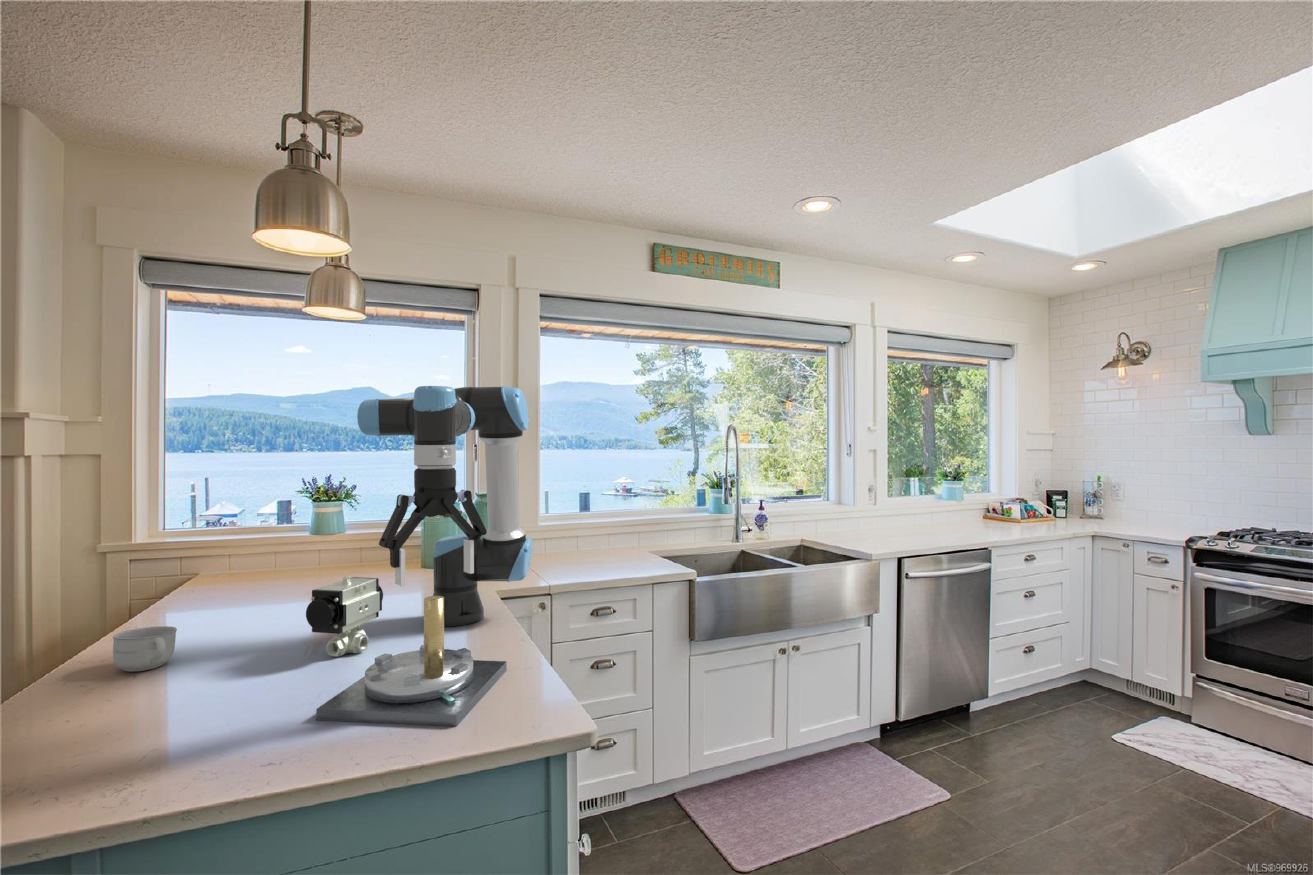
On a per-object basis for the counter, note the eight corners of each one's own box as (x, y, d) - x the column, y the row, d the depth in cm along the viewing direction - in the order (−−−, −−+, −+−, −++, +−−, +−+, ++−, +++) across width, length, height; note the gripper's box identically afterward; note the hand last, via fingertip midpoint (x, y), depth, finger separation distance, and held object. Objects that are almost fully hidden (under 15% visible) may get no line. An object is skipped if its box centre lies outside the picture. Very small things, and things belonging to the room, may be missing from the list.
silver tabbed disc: (340, 695, 115) (340, 600, 115) (412, 658, 134) (412, 577, 134) (430, 709, 109) (430, 609, 109) (492, 669, 128) (492, 584, 128)
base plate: (392, 666, 136) (392, 654, 136) (506, 670, 133) (506, 658, 133) (316, 720, 110) (316, 705, 110) (456, 726, 108) (456, 711, 108)
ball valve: (337, 667, 135) (337, 586, 136) (304, 664, 137) (304, 584, 137) (389, 640, 153) (388, 569, 153) (358, 638, 155) (358, 568, 155)
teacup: (109, 667, 136) (109, 631, 136) (171, 655, 143) (171, 620, 143) (118, 684, 126) (118, 645, 126) (184, 670, 134) (184, 633, 134)
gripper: (375, 471, 106) (376, 594, 106) (503, 465, 123) (504, 570, 124) (359, 469, 111) (360, 586, 111) (484, 463, 129) (485, 565, 129)
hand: (435, 578), depth 117 cm, fingers open, 13 cm apart
